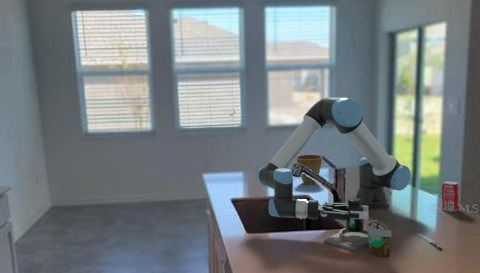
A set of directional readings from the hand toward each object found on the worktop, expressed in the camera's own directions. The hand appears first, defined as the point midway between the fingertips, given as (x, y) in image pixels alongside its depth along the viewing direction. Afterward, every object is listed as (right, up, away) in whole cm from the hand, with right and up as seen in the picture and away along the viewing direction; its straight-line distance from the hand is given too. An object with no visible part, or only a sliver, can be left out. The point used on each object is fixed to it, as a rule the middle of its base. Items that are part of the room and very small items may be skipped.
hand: (368, 212), depth 161 cm
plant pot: (-8, +1, +90) cm, 90 cm away
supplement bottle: (-5, -7, +2) cm, 9 cm away
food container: (-1, -12, -11) cm, 17 cm away
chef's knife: (+23, -11, -2) cm, 25 cm away
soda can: (+47, -5, +32) cm, 57 cm away
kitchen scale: (-6, -11, +1) cm, 12 cm away
